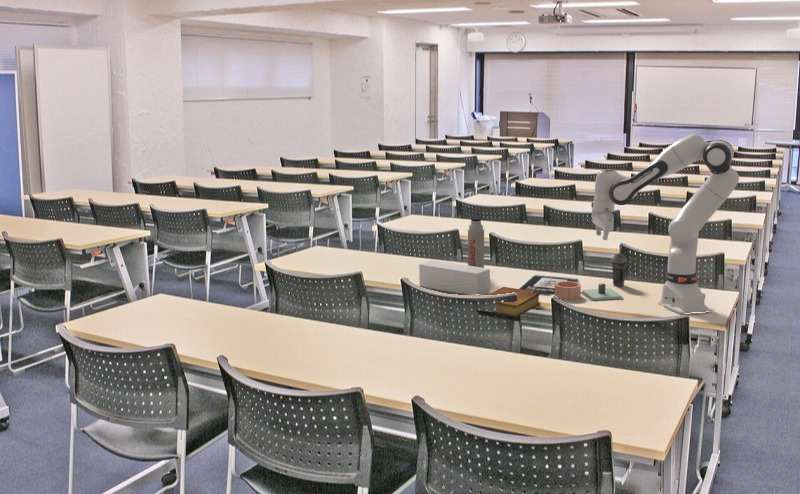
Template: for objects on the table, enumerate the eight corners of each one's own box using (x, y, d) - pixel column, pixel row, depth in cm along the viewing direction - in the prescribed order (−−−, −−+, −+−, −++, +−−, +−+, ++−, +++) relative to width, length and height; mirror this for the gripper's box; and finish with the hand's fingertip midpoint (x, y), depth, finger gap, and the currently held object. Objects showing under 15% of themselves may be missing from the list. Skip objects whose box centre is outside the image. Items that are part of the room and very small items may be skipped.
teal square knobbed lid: (621, 298, 357) (622, 287, 356) (592, 300, 355) (593, 288, 354) (610, 290, 369) (610, 279, 368) (582, 292, 368) (582, 281, 367)
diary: (501, 299, 364) (501, 286, 363) (540, 305, 354) (540, 292, 353) (476, 311, 346) (476, 298, 344) (517, 318, 335) (517, 304, 334)
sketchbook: (516, 293, 372) (516, 289, 372) (534, 278, 399) (534, 273, 398) (563, 298, 363) (563, 293, 363) (578, 281, 390) (579, 277, 389)
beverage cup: (625, 284, 382) (626, 242, 378) (627, 288, 375) (629, 246, 370) (609, 284, 383) (610, 242, 378) (611, 288, 376) (613, 245, 371)
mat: (624, 300, 356) (624, 299, 356) (591, 302, 354) (591, 301, 354) (611, 291, 371) (611, 290, 370) (579, 293, 369) (579, 292, 368)
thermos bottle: (475, 276, 400) (475, 220, 394) (464, 273, 407) (464, 218, 400) (487, 274, 405) (487, 218, 399) (476, 271, 411) (476, 216, 405)
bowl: (583, 300, 358) (584, 287, 356) (559, 301, 356) (559, 288, 355) (575, 293, 368) (575, 280, 367) (551, 294, 367) (551, 281, 366)
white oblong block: (489, 291, 375) (489, 268, 373) (477, 296, 367) (477, 273, 365) (432, 281, 394) (432, 259, 392) (419, 286, 386) (419, 264, 384)
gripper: (618, 210, 345) (616, 242, 348) (604, 202, 365) (602, 232, 368) (603, 210, 345) (601, 242, 348) (590, 202, 365) (588, 232, 368)
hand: (601, 237), depth 358 cm, fingers open, 8 cm apart
